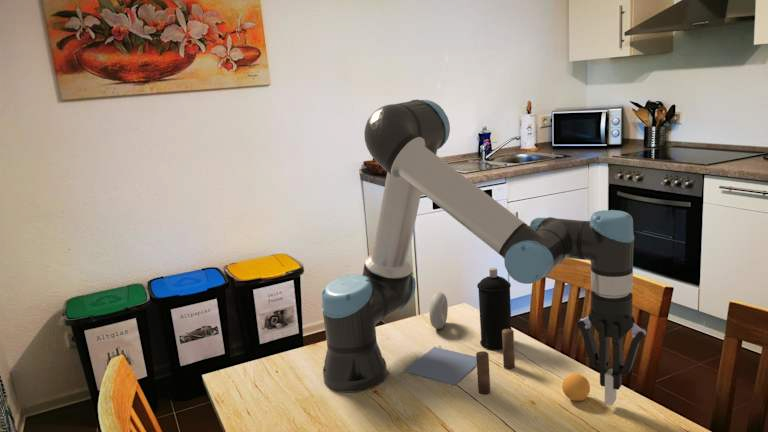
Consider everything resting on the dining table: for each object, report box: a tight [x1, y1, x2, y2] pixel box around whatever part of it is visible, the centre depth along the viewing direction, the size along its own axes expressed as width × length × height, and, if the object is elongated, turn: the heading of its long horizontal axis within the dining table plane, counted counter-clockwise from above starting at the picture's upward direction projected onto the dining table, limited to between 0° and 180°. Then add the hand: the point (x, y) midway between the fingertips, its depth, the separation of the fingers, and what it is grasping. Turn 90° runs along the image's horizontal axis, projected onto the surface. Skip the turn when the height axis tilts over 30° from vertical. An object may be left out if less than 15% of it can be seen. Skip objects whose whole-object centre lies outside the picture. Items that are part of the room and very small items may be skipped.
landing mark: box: [402, 346, 477, 386], centre depth 145 cm, size 14×14×1 cm
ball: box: [561, 372, 591, 402], centre depth 126 cm, size 6×6×6 cm
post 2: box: [502, 328, 516, 370], centre depth 141 cm, size 3×3×9 cm
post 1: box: [475, 350, 491, 396], centre depth 131 cm, size 3×3×9 cm
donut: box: [429, 291, 449, 330], centre depth 165 cm, size 10×4×10 cm, turn 161°
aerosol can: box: [476, 267, 512, 351], centre depth 152 cm, size 8×8×20 cm
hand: (610, 401), depth 122 cm, fingers closed
